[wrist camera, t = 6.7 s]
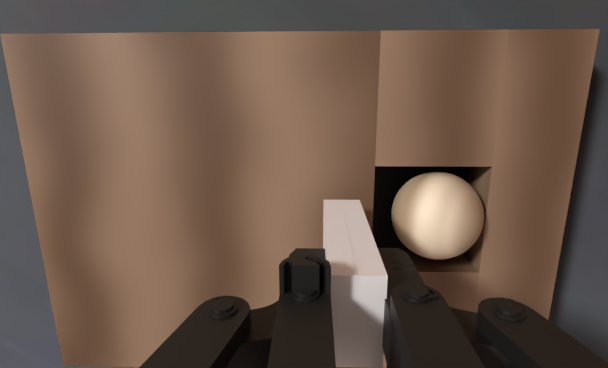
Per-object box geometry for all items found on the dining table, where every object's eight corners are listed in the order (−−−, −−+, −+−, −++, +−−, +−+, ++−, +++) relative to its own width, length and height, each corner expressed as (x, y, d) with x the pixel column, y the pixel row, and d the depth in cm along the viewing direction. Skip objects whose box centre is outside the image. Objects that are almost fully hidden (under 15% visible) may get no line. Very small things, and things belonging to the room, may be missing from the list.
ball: (372, 255, 18) (455, 285, 16) (376, 172, 17) (466, 189, 15) (414, 232, 21) (491, 255, 18) (420, 160, 20) (503, 172, 17)
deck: (90, 335, 22) (63, 365, 20) (41, 40, 18) (0, 33, 16) (513, 341, 22) (538, 374, 19) (560, 36, 18) (599, 28, 15)
